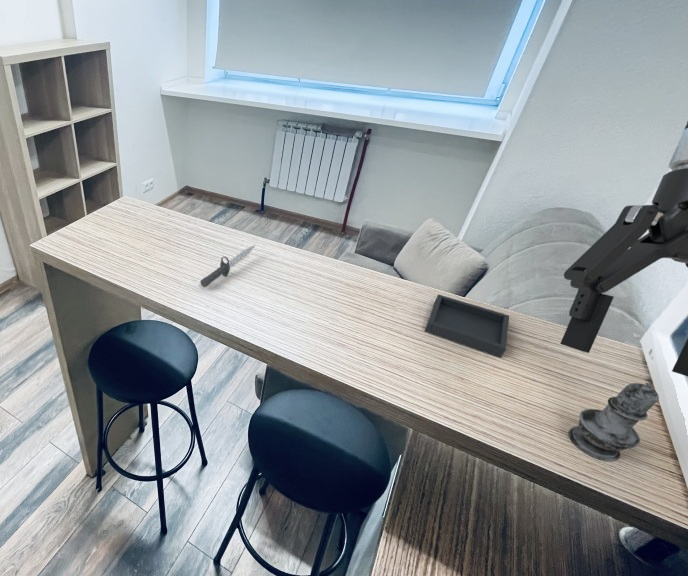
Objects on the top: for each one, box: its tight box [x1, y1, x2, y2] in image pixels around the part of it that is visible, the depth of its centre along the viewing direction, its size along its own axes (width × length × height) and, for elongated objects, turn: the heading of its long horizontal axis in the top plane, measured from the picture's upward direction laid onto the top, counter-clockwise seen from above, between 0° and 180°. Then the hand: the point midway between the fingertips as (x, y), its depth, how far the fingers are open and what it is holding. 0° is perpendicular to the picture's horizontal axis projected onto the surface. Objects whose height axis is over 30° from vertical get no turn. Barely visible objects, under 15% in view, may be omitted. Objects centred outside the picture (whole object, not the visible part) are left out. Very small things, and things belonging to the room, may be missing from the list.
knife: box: [199, 244, 256, 288], centre depth 90 cm, size 19×2×5 cm, turn 137°
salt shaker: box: [567, 382, 660, 462], centre depth 51 cm, size 6×6×12 cm
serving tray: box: [424, 294, 510, 358], centre depth 74 cm, size 12×11×2 cm
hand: (631, 362), depth 46 cm, fingers open, 13 cm apart
